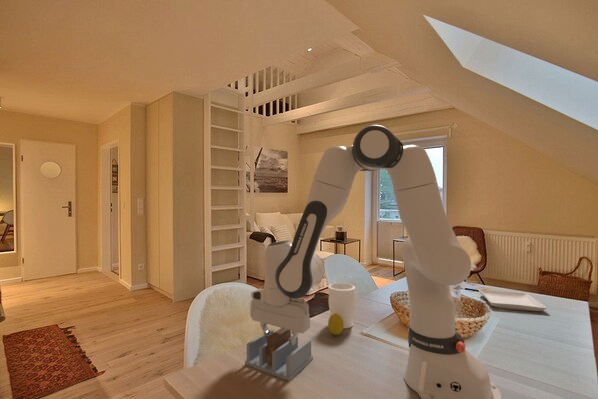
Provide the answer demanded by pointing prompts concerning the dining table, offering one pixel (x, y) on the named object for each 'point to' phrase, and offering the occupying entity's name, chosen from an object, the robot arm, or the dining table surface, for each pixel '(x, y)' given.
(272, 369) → the rack
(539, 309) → the salad plate
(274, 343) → the board
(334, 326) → the lemon
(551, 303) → the dining table surface
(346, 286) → the jar
